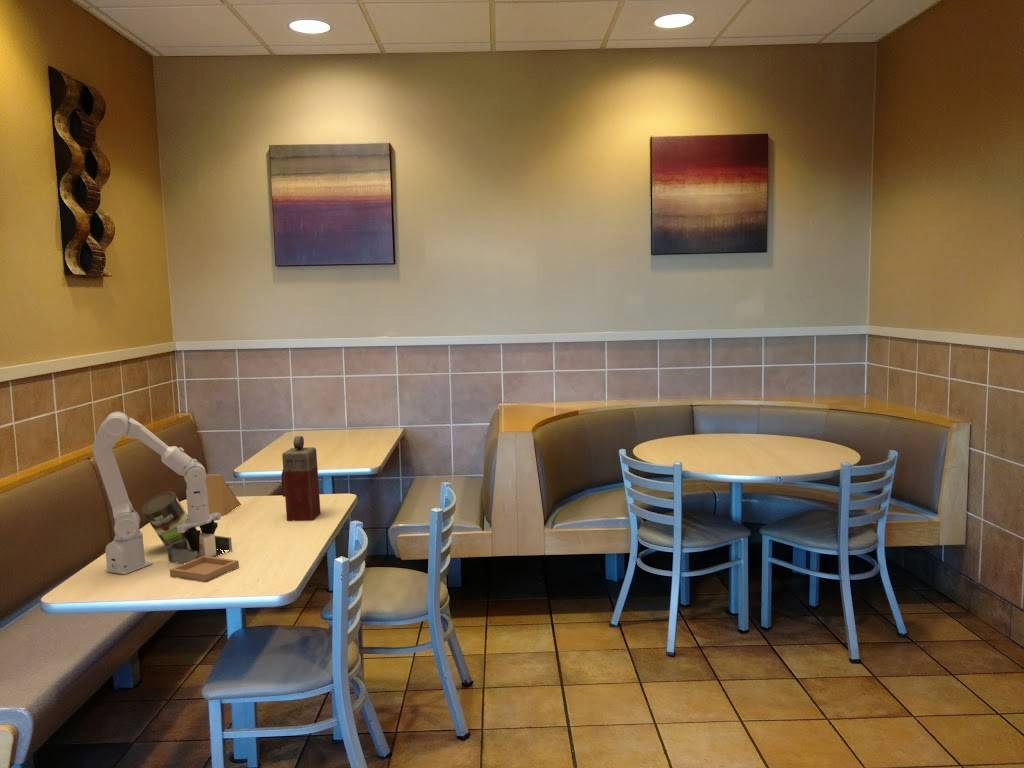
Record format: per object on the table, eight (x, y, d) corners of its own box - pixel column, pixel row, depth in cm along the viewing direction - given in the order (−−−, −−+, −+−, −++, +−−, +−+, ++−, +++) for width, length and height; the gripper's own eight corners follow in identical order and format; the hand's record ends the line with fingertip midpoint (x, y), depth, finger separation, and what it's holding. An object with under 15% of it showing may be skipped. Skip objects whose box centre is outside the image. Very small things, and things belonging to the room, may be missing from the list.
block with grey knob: (205, 558, 230) (203, 535, 229) (187, 556, 233) (185, 533, 232) (216, 554, 233) (214, 531, 233) (198, 551, 236) (196, 529, 236)
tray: (205, 582, 211) (205, 574, 211) (170, 576, 216) (169, 569, 216) (238, 567, 222) (238, 560, 222) (204, 562, 227) (203, 555, 227)
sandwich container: (242, 505, 292) (239, 464, 290) (224, 516, 277) (221, 474, 275) (220, 505, 293) (217, 465, 291) (200, 517, 278) (197, 474, 276)
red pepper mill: (289, 513, 276) (283, 434, 273) (320, 513, 275) (315, 433, 272) (279, 521, 267) (273, 439, 264) (312, 520, 267) (306, 438, 263)
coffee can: (194, 541, 241) (171, 506, 234) (162, 553, 240) (138, 518, 234) (199, 521, 250) (177, 486, 243) (168, 533, 249) (145, 498, 243)
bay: (195, 565, 225) (194, 548, 224) (168, 561, 229) (167, 544, 229) (232, 550, 237) (230, 534, 237) (206, 547, 242) (204, 531, 241)
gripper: (188, 512, 223) (192, 559, 225) (226, 499, 236) (230, 543, 238) (170, 510, 226) (174, 556, 228) (209, 497, 239) (212, 541, 241)
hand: (201, 550), depth 233 cm, fingers closed on block with grey knob, 4 cm apart
